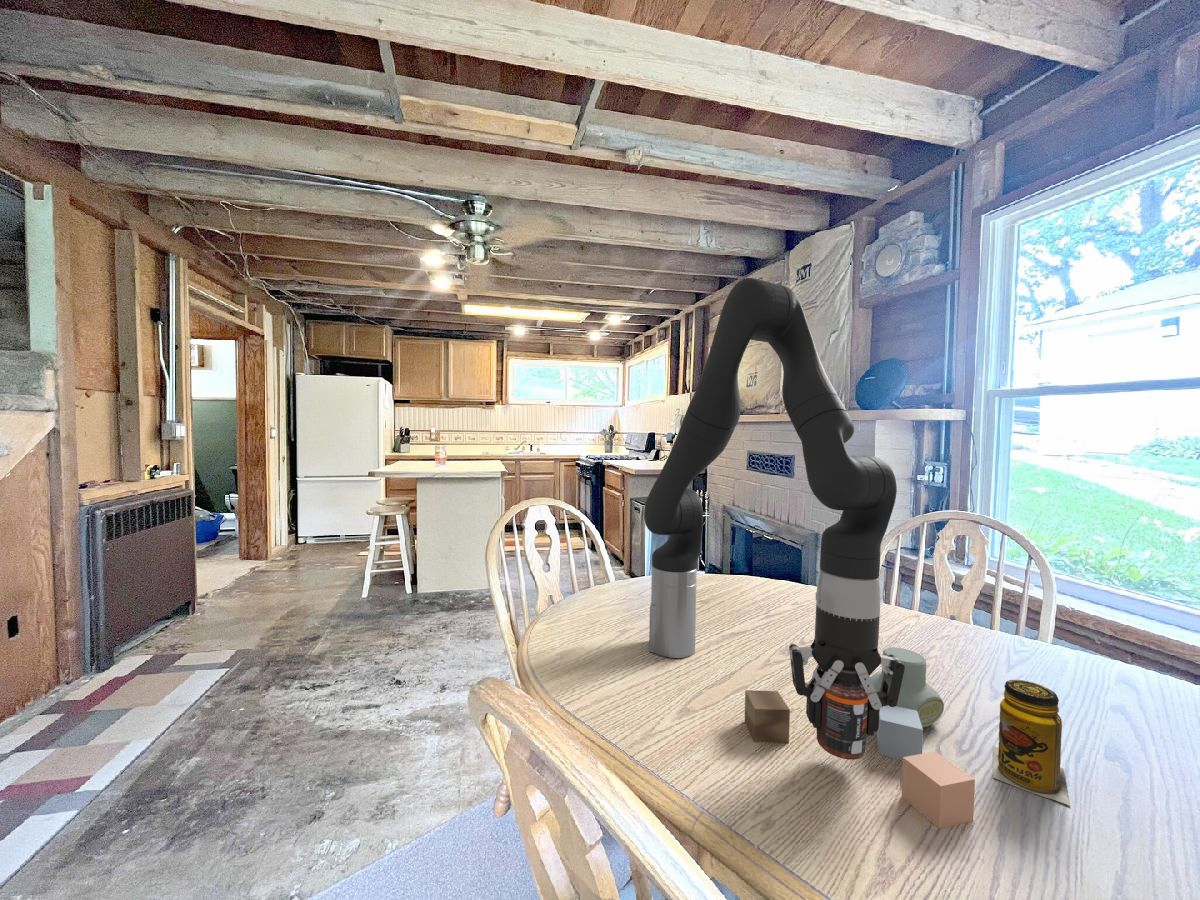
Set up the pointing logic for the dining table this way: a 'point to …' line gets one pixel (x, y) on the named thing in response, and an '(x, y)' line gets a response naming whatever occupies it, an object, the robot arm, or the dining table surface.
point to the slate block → (899, 732)
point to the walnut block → (767, 716)
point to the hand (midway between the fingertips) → (841, 727)
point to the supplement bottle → (844, 717)
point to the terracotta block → (938, 789)
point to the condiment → (1030, 741)
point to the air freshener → (914, 686)
